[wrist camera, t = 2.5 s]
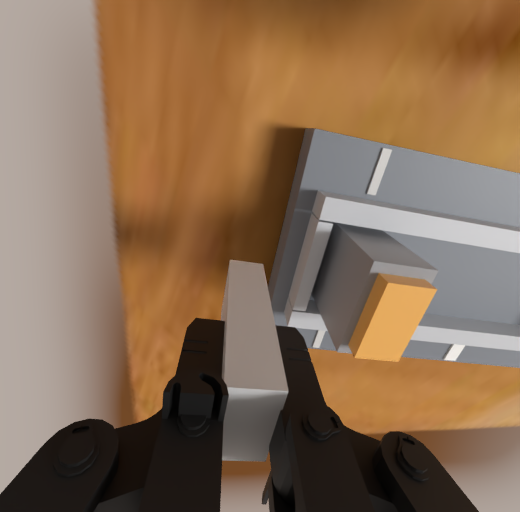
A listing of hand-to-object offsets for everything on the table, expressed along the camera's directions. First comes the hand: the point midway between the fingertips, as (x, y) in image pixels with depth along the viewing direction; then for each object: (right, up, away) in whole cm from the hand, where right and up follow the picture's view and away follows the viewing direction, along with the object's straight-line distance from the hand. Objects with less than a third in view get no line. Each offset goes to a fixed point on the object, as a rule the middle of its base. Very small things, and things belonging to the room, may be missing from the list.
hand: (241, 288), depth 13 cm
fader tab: (+6, +1, +4) cm, 8 cm away
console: (+13, +1, +7) cm, 15 cm away
